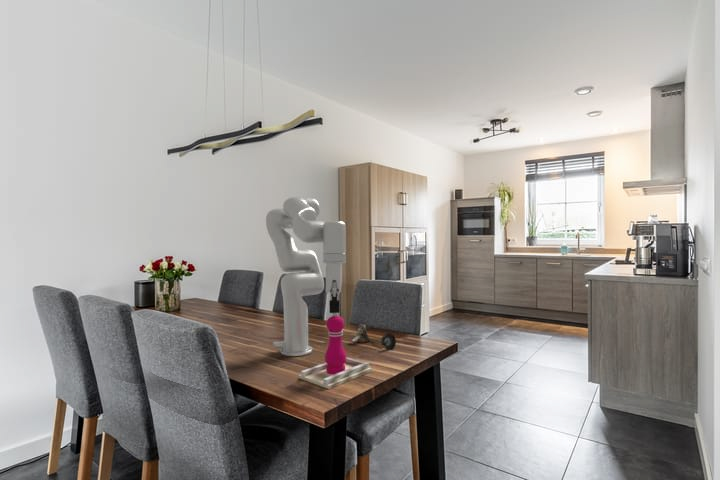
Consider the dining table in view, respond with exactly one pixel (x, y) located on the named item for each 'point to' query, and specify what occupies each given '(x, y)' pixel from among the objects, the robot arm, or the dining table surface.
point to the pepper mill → (335, 345)
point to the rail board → (329, 381)
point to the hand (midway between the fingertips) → (334, 309)
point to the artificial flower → (387, 341)
